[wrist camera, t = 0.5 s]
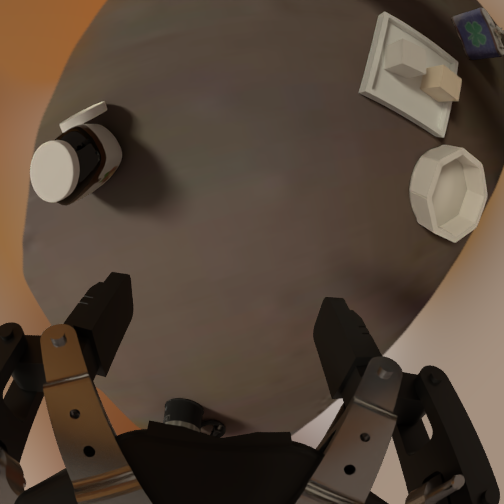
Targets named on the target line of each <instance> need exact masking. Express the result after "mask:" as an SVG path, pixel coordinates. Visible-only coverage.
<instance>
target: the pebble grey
mask: <svg viewBox="0 0 504 504" xmlns="http://www.w3.org/2000/svg"><path fill="white" fill-rule="evenodd" d="M384 70H387V71H390V72H392V73H395V74H397V75H400V76H402V77H405V78H411V77H415V76H420V75H425V74H426V49H424V48H422V47H420V46H418V45H416V44H414V43H412V42H409V41H407V40H405V39H403V38H402V39H400V40H398V41H396V42H393V43H391V44H389V45H387V46H385V61H384Z"/></svg>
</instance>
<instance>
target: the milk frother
mask: <svg viewBox="0 0 504 504" xmlns="http://www.w3.org/2000/svg"><path fill="white" fill-rule="evenodd" d="M203 413H204V411H203V408H202V407H201V406H200V405H199V404H197V403H195V402H193V401H191V400H187V399H171V400H169V401H167V402H166V404H165V415H164V421H163V423H165V424H171V425H178V426H184V427H187V428H189V429H192V430H195V431H198V432H200V430H201V428H202V427H203V426H205V425H214V428H213V431H211V432H212V433H211V434H210V436H214V437H217V438H220V437H221V436H223V435H224V433H225V430H226V429H225V426H224V425H223V424H222V423H220V422H218V421H214V420H206V421H203V422H201V421H202V415H203Z"/></svg>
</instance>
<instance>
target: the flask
mask: <svg viewBox="0 0 504 504" xmlns="http://www.w3.org/2000/svg"><path fill="white" fill-rule="evenodd" d="M452 22H453V25H454V26H455V28H456V30H457V33H458V36H459V38H460V39H461V41H462V45H463V47H464V50H465V54H466V56H467V57H468V59H469V60H477V59H484V58H494V57H501V56H503V55H504V49H503V48H504V47H503V44H502V42H501V39H500V38H501V33H504V31H503V30H501V29H502V28H500V27H498V26H496V27H495V25H494V23H493V21H492V19H491V17H490V16H489V14H488V12H487V11H486V10H485V9H484V8H478V9H476V10H472V11H469V12H466V13H462V14H459V15H456V16H453V17H452ZM502 31H503V32H502Z"/></svg>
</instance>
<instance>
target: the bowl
mask: <svg viewBox="0 0 504 504" xmlns="http://www.w3.org/2000/svg"><path fill="white" fill-rule="evenodd" d="M487 196H488V195H487V188H486V181H485V175H484V170H483V165H482V163H481V162H479V161H478V160H477V159H476V158H475V157H474V156H472V155H471V154H470V153H469V152H467V151H466V150H465V149H464V148H460V147H455V146H449V145H442V146H440V147H436V148H432V149H430V150H428V151H427V152H425V153H424V154H423V155H422V156H421V157H420V158H419V160H418V161H417V163H416V165H415V167H414V169H413V172H412V175H411V179H410V186H409V197H410V204H411V207H412V210H413V212H414V215H415V216H416V218H417V222H418V223H419V224H420V225H422V226H424V227H425V228H427V229H428V230H430V231H432V232H433V233H435V234H437V235H439V236H441V237H443V238H445V239H448V240H450V241H452V242H454V243H456V242H457V241H459V240H460V239H461V238H463V237H464V236H466V235H467V234H468V233H470V232H471V231H472V230H474V229H475V228H476V226H477V225H478V222H479V220H480V217H481V214H482V212H483V209H484V206H485V203H486V200H487Z"/></svg>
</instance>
